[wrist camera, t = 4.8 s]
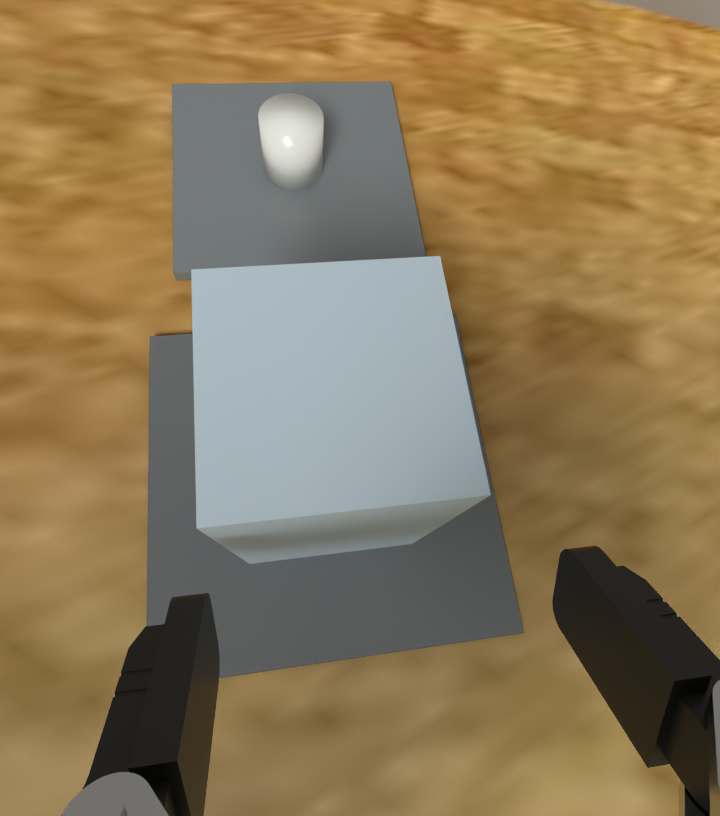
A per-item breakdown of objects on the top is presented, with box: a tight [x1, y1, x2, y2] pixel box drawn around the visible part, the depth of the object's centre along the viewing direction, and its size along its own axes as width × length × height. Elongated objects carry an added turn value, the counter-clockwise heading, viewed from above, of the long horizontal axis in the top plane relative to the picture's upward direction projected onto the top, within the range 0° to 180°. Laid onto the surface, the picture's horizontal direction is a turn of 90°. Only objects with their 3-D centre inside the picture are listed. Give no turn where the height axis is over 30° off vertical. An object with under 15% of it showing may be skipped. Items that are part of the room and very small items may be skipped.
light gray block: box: [191, 256, 491, 564], centre depth 17 cm, size 6×6×10 cm
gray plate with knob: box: [172, 82, 426, 280], centre depth 26 cm, size 12×12×4 cm
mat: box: [147, 315, 524, 678], centre depth 22 cm, size 14×14×1 cm
